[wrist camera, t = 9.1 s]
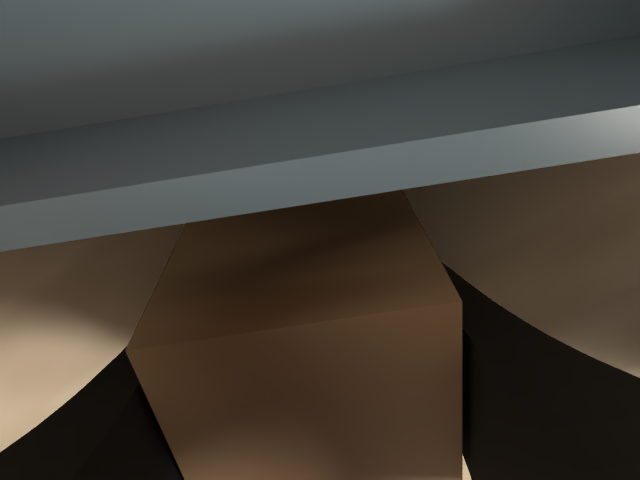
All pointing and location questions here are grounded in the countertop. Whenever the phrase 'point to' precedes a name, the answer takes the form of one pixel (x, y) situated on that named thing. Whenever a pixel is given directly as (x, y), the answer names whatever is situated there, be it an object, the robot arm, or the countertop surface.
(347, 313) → the walnut cube
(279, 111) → the tote
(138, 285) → the countertop surface
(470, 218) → the countertop surface
